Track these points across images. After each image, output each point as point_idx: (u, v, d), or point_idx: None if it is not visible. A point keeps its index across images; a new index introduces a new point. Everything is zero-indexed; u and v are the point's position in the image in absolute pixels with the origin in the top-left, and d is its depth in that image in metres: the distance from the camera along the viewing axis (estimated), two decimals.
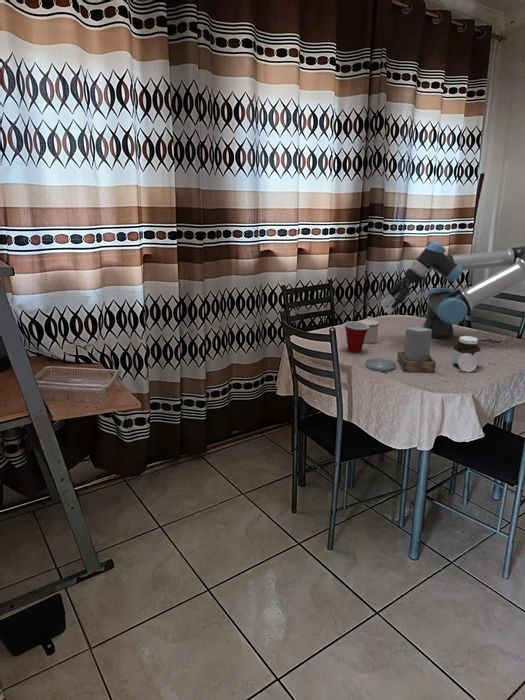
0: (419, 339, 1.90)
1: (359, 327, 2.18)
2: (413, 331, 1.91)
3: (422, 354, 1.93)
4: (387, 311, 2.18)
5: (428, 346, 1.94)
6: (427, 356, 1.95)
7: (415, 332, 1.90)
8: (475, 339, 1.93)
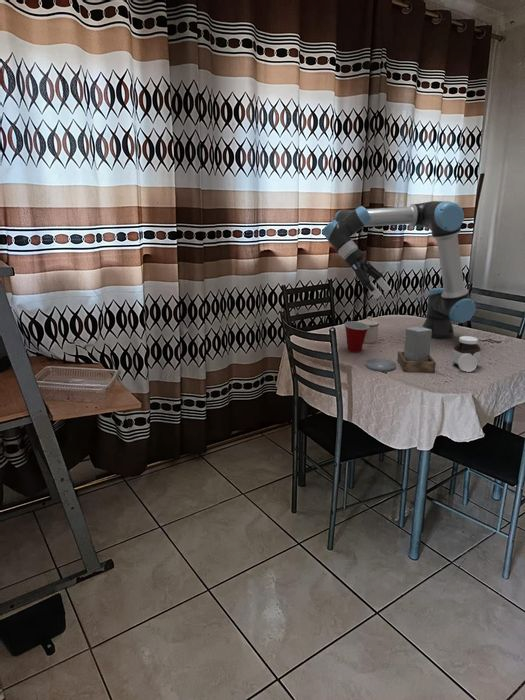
0: (419, 339, 1.90)
1: (359, 327, 2.18)
2: (413, 331, 1.91)
3: (422, 354, 1.93)
4: (377, 296, 1.94)
5: (428, 346, 1.94)
6: (427, 356, 1.95)
7: (415, 332, 1.90)
8: (475, 339, 1.93)
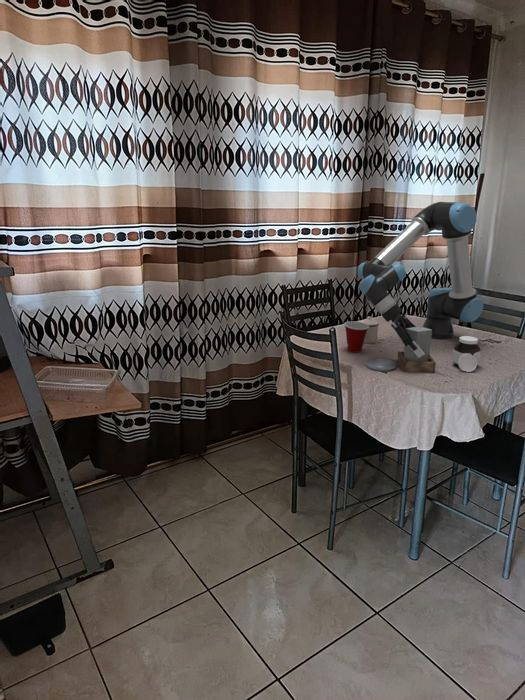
0: (419, 339, 1.90)
1: (359, 327, 2.18)
2: (413, 331, 1.91)
3: None
4: (419, 355, 1.90)
5: (428, 346, 1.94)
6: (427, 356, 1.95)
7: (415, 332, 1.90)
8: (475, 339, 1.93)
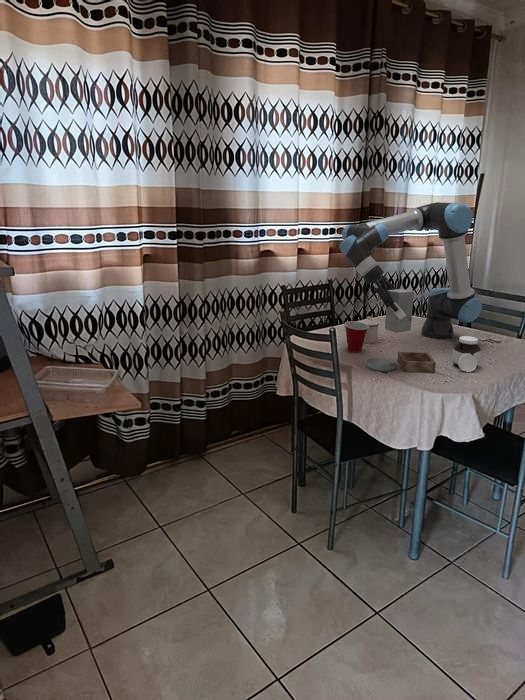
0: (400, 301, 1.85)
1: (359, 327, 2.18)
2: (394, 292, 1.85)
3: None
4: (400, 317, 1.85)
5: (410, 308, 1.88)
6: (409, 319, 1.89)
7: (396, 293, 1.85)
8: (475, 339, 1.93)
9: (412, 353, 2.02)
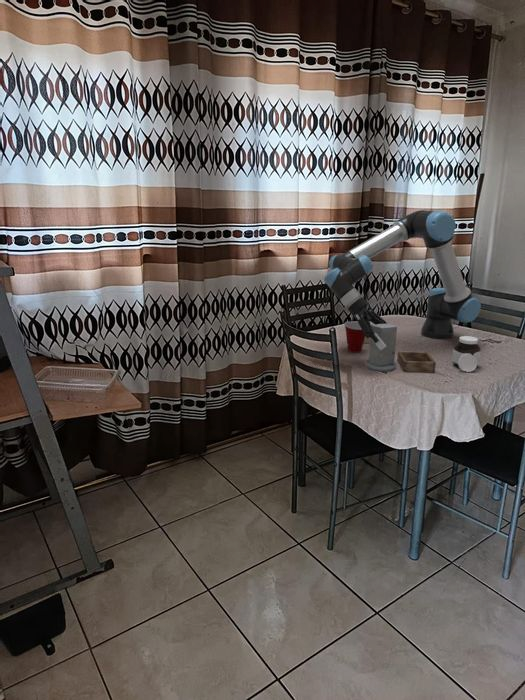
0: (384, 336, 1.90)
1: (359, 327, 2.18)
2: (378, 328, 1.91)
3: (387, 350, 1.93)
4: (381, 347, 1.88)
5: (393, 343, 1.93)
6: (392, 353, 1.95)
7: (380, 329, 1.90)
8: (475, 339, 1.93)
9: (412, 353, 2.02)
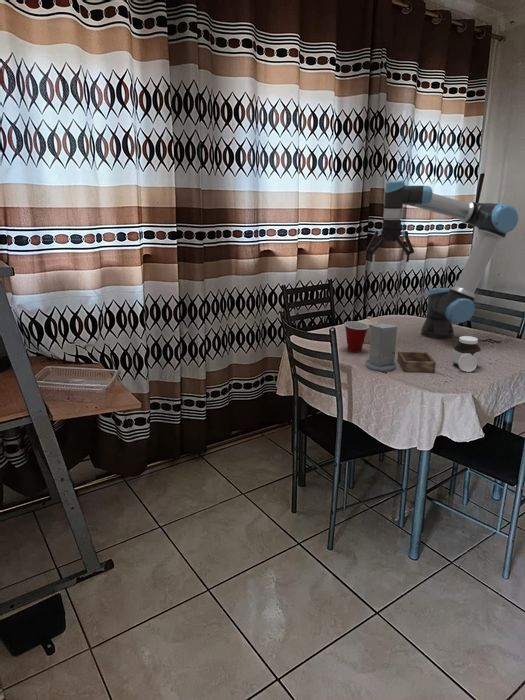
0: (384, 336, 1.90)
1: (359, 327, 2.18)
2: (378, 328, 1.91)
3: (387, 350, 1.93)
4: (371, 267, 2.14)
5: (393, 343, 1.93)
6: (392, 353, 1.95)
7: (380, 329, 1.90)
8: (475, 339, 1.93)
9: (412, 353, 2.02)
